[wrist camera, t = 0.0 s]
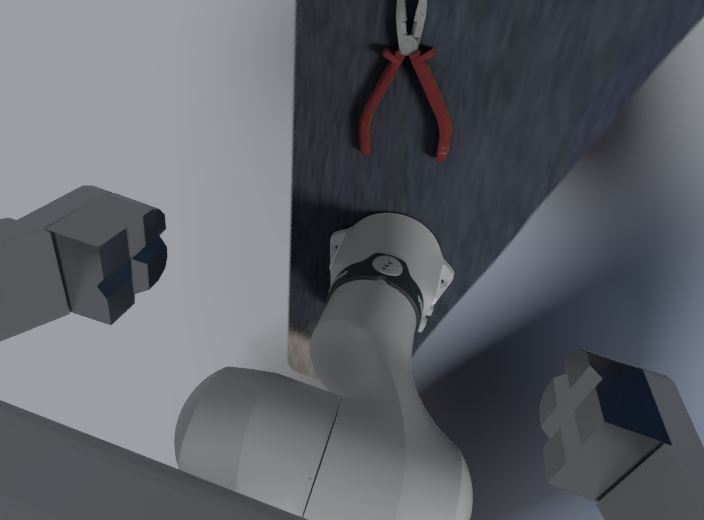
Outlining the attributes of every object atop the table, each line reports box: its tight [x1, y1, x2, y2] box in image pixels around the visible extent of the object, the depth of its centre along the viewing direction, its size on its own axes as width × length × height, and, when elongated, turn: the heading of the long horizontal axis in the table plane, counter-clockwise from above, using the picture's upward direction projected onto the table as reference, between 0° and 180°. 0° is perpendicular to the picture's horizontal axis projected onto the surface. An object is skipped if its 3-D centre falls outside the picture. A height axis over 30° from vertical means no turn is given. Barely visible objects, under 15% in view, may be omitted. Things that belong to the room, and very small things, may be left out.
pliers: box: [359, 0, 452, 162], centre depth 50 cm, size 11×20×3 cm, turn 1°
